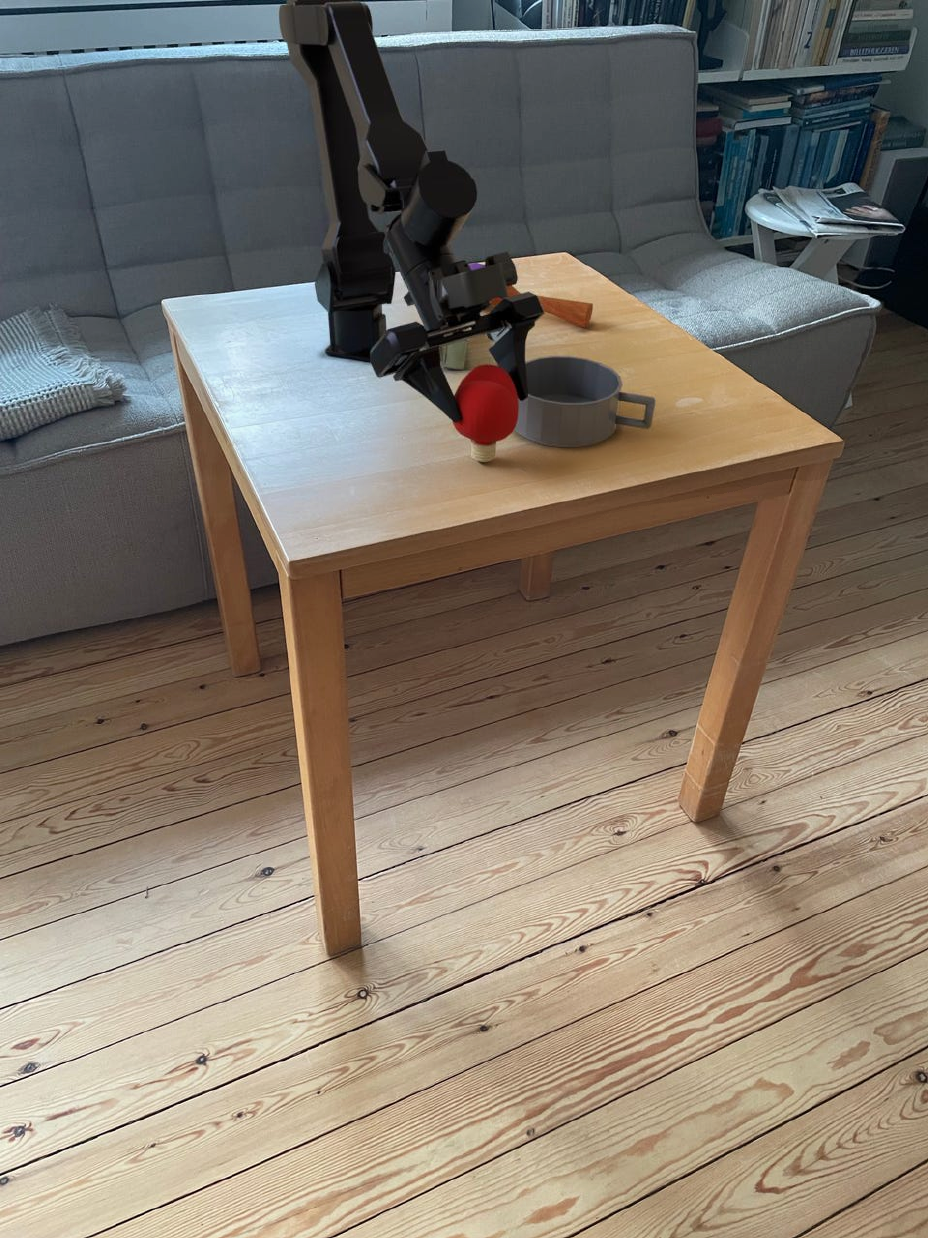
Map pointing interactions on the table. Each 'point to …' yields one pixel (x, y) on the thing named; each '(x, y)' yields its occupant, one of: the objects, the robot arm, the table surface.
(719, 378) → the table surface
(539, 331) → the table surface
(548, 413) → the measuring cup
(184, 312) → the table surface
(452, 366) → the medication box
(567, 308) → the maraca
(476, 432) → the light bulb
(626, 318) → the table surface
